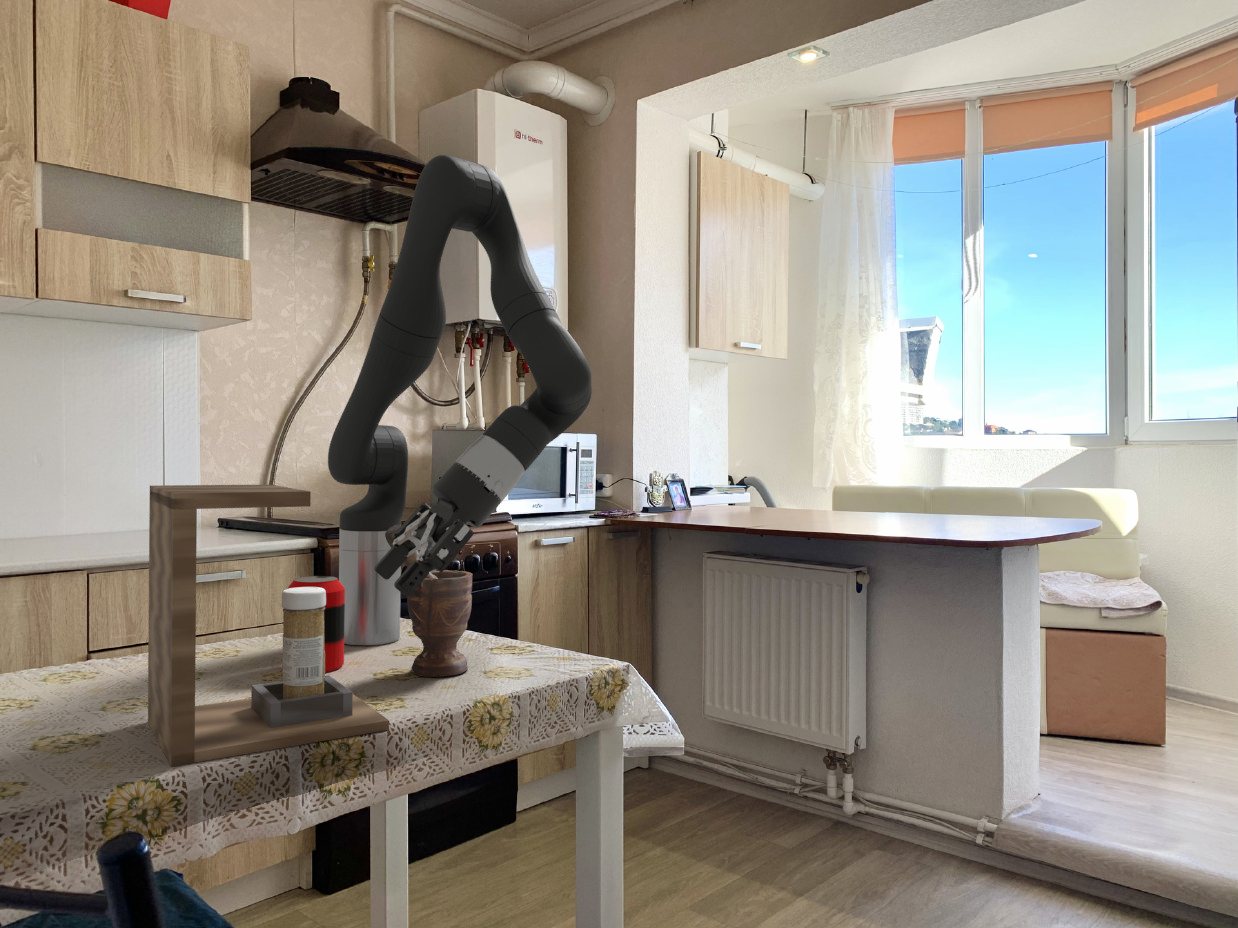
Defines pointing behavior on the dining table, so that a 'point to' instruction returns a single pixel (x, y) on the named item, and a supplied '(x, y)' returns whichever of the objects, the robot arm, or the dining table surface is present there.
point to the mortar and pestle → (439, 618)
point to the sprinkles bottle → (303, 641)
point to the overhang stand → (174, 647)
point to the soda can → (330, 617)
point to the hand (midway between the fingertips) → (389, 583)
